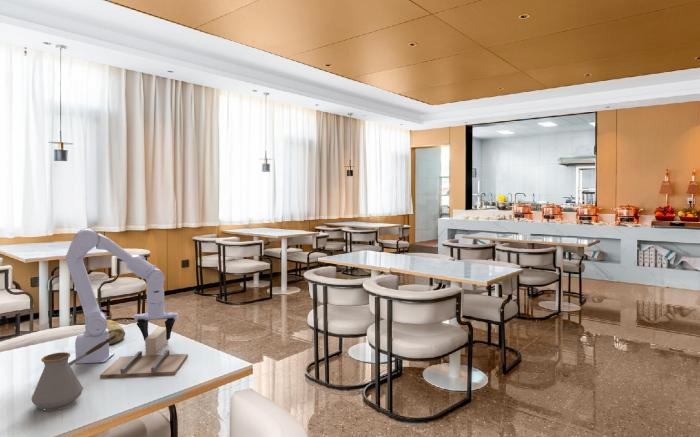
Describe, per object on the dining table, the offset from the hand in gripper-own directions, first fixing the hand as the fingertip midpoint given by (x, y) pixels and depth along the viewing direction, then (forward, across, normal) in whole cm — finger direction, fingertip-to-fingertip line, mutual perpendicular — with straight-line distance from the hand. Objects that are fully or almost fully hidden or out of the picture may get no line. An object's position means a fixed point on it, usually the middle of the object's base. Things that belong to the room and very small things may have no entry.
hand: (157, 339), depth 160 cm
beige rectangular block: (+3, 0, 0) cm, 4 cm away
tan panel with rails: (+3, -2, +17) cm, 17 cm away
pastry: (+4, +22, -11) cm, 25 cm away
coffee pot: (+3, +9, +37) cm, 38 cm away
